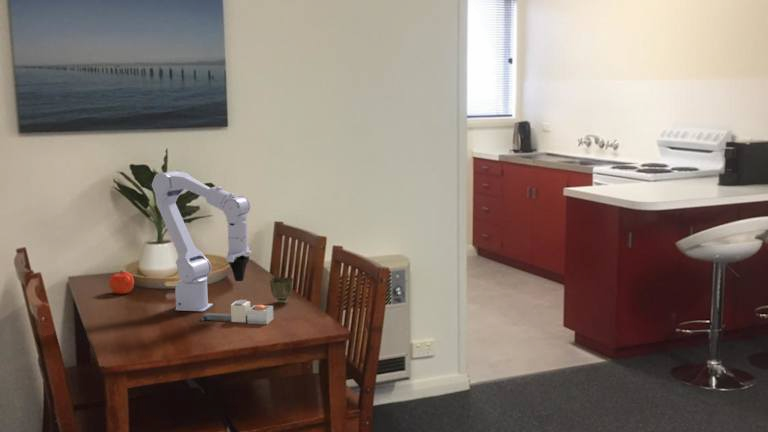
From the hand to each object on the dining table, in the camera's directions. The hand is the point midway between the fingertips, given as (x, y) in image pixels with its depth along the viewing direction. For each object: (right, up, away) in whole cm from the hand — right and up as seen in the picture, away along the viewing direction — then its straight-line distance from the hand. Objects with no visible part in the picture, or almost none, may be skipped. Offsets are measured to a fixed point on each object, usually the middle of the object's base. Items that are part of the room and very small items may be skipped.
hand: (239, 280), depth 245 cm
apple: (-45, -7, +28) cm, 54 cm away
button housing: (+8, -12, -7) cm, 15 cm away
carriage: (+2, -11, -6) cm, 13 cm away
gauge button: (+8, -9, -7) cm, 14 cm away
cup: (+11, -9, +14) cm, 20 cm away
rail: (-3, -11, -5) cm, 13 cm away
